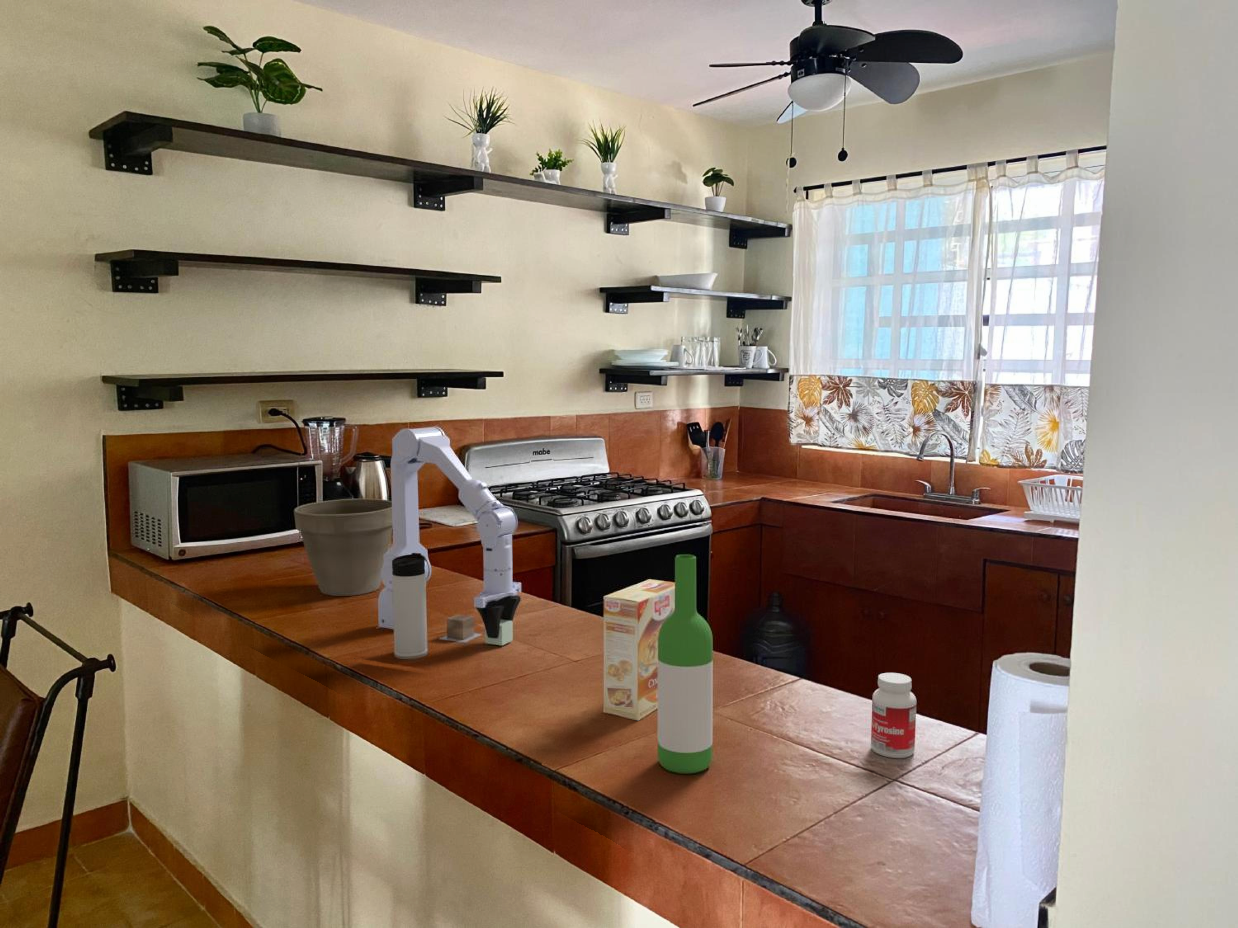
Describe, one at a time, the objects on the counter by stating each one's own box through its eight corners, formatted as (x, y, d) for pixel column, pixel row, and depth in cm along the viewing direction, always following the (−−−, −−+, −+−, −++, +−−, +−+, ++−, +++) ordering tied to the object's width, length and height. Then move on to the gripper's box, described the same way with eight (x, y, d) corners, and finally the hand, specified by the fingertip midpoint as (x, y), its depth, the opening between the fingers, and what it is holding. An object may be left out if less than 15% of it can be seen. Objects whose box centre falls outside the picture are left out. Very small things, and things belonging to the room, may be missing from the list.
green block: (485, 642, 187) (484, 623, 187) (496, 637, 191) (495, 618, 191) (502, 645, 186) (502, 625, 185) (512, 640, 189) (512, 620, 189)
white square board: (419, 643, 191) (419, 640, 191) (453, 628, 201) (453, 625, 201) (468, 651, 186) (468, 647, 186) (501, 635, 196) (500, 632, 196)
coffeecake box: (639, 721, 149) (638, 601, 147) (601, 712, 152) (600, 595, 150) (683, 693, 161) (684, 582, 159) (647, 686, 165) (647, 577, 163)
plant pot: (322, 607, 220) (319, 516, 218) (281, 589, 238) (278, 504, 236) (417, 590, 236) (415, 505, 234) (372, 574, 255) (369, 495, 253)
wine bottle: (708, 752, 136) (709, 550, 133) (716, 775, 129) (717, 561, 126) (655, 753, 136) (655, 550, 133) (659, 776, 128) (659, 562, 125)
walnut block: (447, 637, 192) (446, 618, 192) (458, 632, 196) (457, 614, 196) (463, 640, 191) (462, 620, 190) (474, 634, 194) (473, 616, 194)
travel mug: (434, 653, 184) (431, 553, 182) (416, 663, 178) (413, 560, 176) (406, 650, 186) (403, 551, 184) (388, 660, 180) (385, 558, 178)
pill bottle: (863, 751, 137) (865, 678, 135) (881, 738, 141) (883, 667, 140) (904, 763, 133) (906, 687, 131) (921, 749, 137) (923, 676, 136)
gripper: (495, 577, 179) (496, 646, 180) (533, 562, 192) (534, 627, 193) (464, 574, 181) (465, 642, 183) (504, 560, 195) (505, 623, 196)
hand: (499, 634), depth 188 cm, fingers closed on green block, 4 cm apart
